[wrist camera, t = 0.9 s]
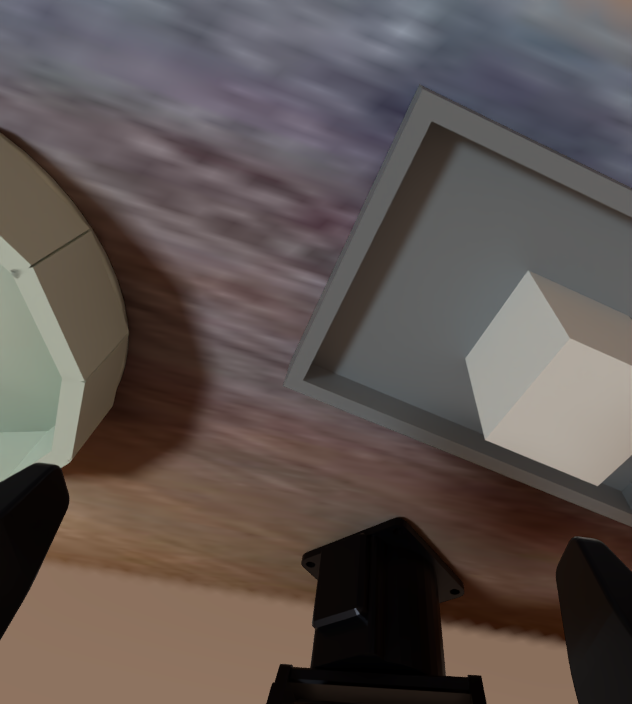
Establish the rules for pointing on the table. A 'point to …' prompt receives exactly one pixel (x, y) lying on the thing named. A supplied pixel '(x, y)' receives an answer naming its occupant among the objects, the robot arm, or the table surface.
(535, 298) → the block
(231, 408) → the table surface
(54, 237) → the bowl
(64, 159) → the table surface
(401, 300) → the parts tray
